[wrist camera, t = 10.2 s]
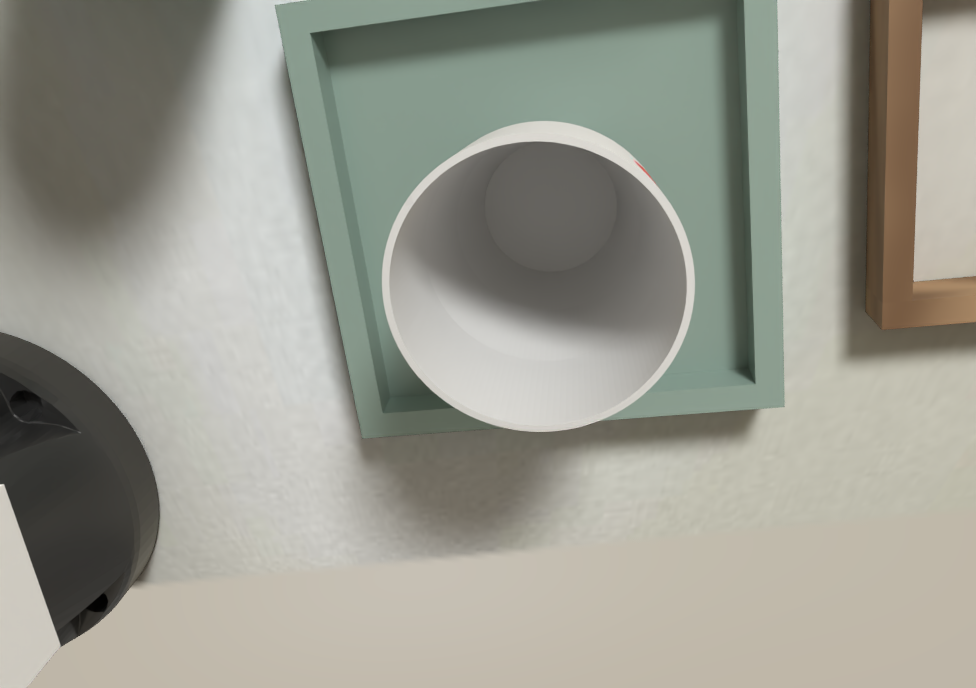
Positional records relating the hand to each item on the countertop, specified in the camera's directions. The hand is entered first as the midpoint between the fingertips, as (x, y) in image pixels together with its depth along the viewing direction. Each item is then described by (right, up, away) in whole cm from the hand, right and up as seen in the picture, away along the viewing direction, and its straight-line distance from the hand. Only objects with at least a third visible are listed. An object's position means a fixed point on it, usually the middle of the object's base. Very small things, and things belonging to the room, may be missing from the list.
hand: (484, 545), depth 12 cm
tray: (+2, +8, +22) cm, 23 cm away
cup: (+2, +8, +21) cm, 22 cm away
